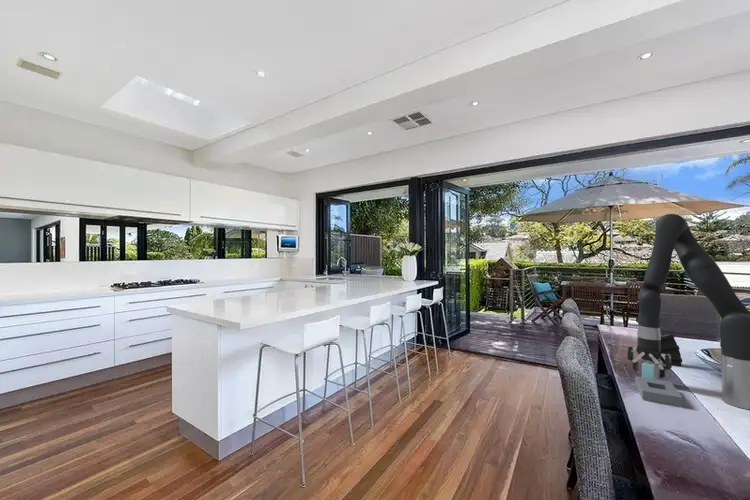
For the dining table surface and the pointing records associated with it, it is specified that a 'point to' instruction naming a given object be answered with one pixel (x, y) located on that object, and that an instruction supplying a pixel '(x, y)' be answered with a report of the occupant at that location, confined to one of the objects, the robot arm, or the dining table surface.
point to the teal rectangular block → (649, 370)
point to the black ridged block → (670, 349)
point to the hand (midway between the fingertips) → (648, 374)
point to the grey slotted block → (658, 391)
